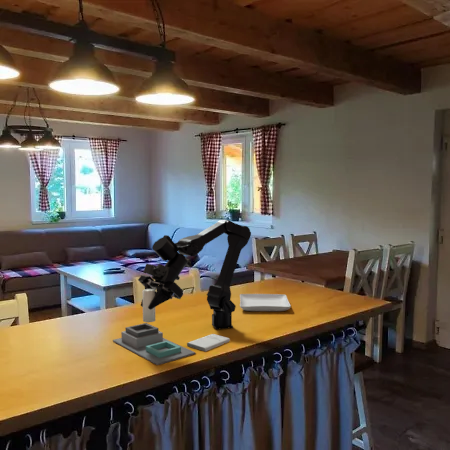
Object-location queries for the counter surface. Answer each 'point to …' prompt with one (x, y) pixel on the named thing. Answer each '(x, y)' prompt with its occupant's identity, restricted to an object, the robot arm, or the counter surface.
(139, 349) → the grey peg insertion board
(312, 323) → the counter surface
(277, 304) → the salad plate
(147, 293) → the plug
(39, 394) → the counter surface
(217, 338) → the external hard drive
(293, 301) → the counter surface
